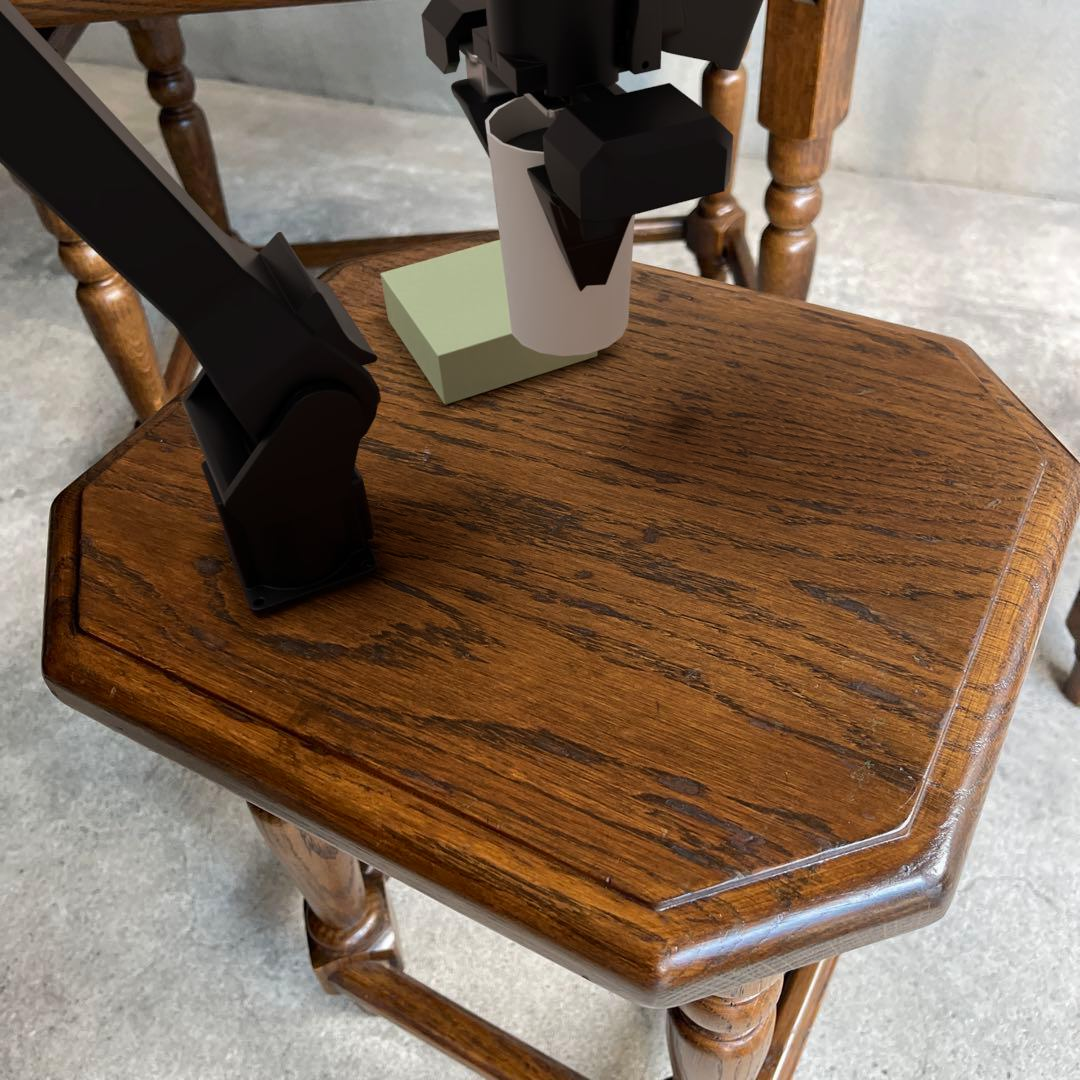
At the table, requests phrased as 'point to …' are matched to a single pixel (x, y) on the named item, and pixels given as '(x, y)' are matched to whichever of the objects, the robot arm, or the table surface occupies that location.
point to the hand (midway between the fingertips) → (566, 265)
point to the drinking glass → (546, 249)
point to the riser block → (462, 323)
